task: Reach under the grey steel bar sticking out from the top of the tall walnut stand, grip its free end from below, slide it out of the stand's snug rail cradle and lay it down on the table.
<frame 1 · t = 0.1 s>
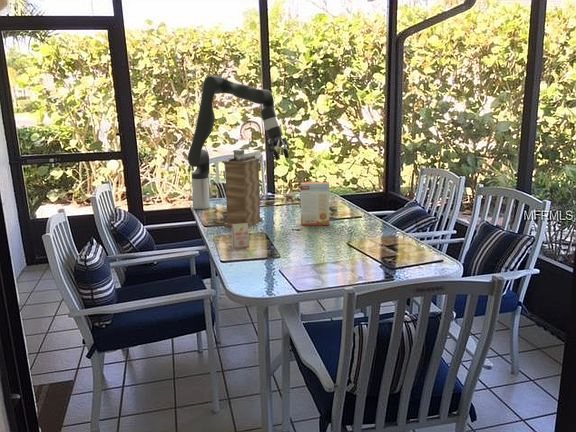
hand: (282, 158, 250), 31 cm above the table, tool tilted 20°, fingers open, 8 cm apart
walnut stand: (244, 223, 251), on the table
small beige carton: (240, 247, 212), on the table
cracker box: (315, 224, 248), on the table
steel bar: (247, 158, 249), point 32 cm above the table, touching walnut stand
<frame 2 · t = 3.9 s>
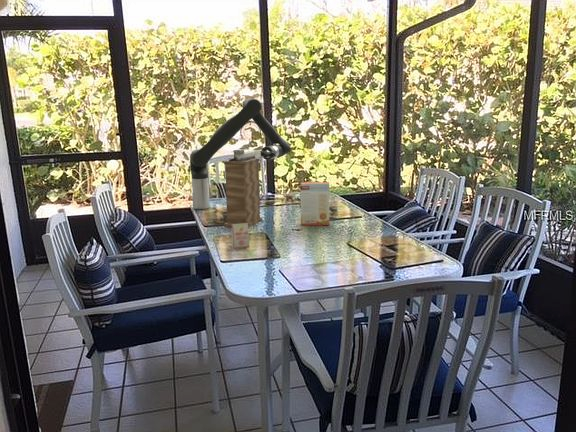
hand: (257, 155, 269), 31 cm above the table, tool horizontal, fingers open, 8 cm apart
nothing on the table moved.
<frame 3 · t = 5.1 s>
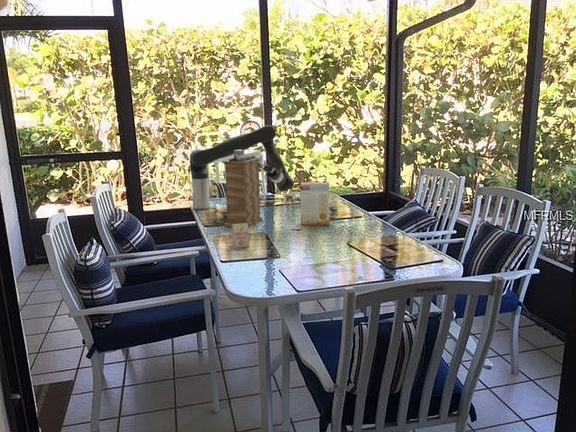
hand: (263, 162, 266), 28 cm above the table, tool pointing upward, fingers open, 8 cm apart
nothing on the table moved.
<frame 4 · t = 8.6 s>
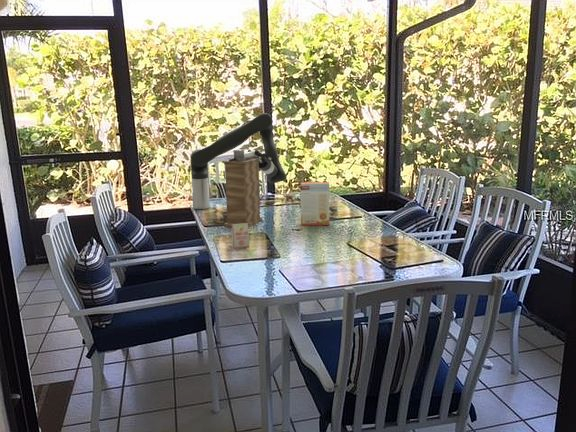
hand: (252, 151, 252), 35 cm above the table, tool pointing upward, fingers closed on steel bar, 3 cm apart
steel bar: (247, 158, 249), point 32 cm above the table, touching gripper, walnut stand
everything else where it was.
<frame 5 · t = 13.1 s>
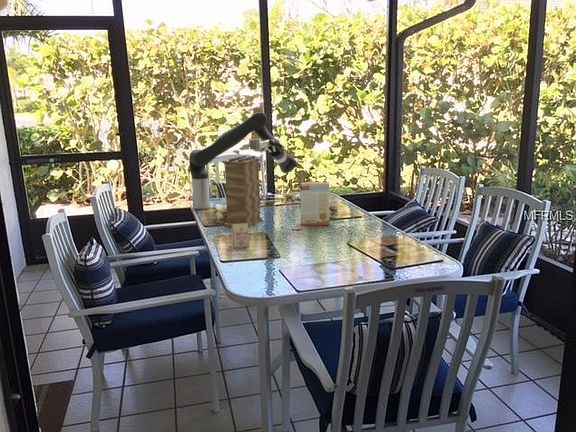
hand: (266, 140, 267), 39 cm above the table, tool pointing upward, fingers closed on steel bar, 3 cm apart
steel bar: (262, 147, 263), point 36 cm above the table, touching gripper
everything else where it was.
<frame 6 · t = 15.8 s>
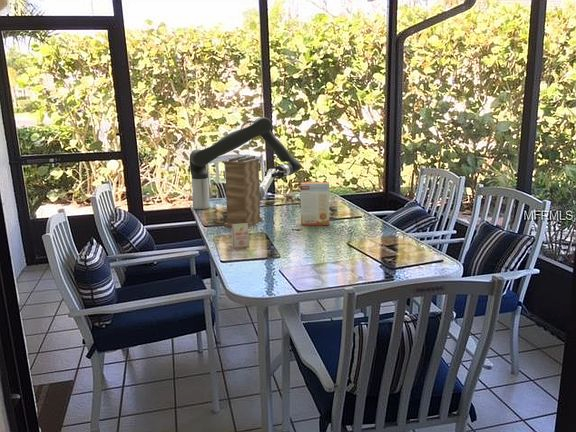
hand: (268, 175, 273), 20 cm above the table, tool horizontal, fingers closed on steel bar, 3 cm apart
steel bar: (266, 185, 272), point 15 cm above the table, tilted 30°, touching gripper
everything else where it was.
when the fingers open (12 cm above the table, at t = 17.9 s): steel bar drops 7 cm, on the table.
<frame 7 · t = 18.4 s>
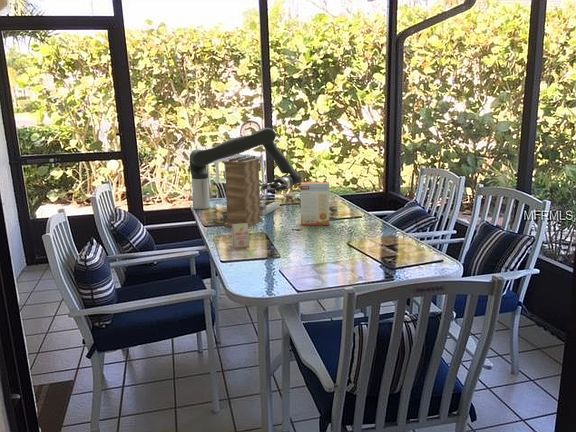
hand: (269, 188, 275), 12 cm above the table, tool horizontal, fingers open, 8 cm apart
steel bar: (268, 211, 277), on the table
everything else where it was.
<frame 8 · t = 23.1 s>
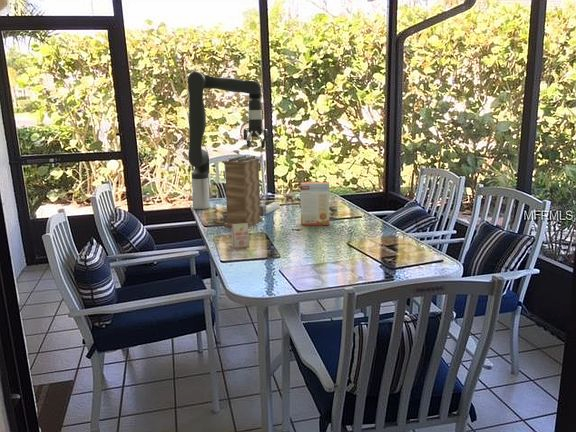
hand: (255, 147, 279), 34 cm above the table, tool pointing down, fingers open, 8 cm apart
nothing on the table moved.
at the end: steel bar on the table; steel bar moved 39.9 cm from its start; the gripper is holding nothing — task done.
